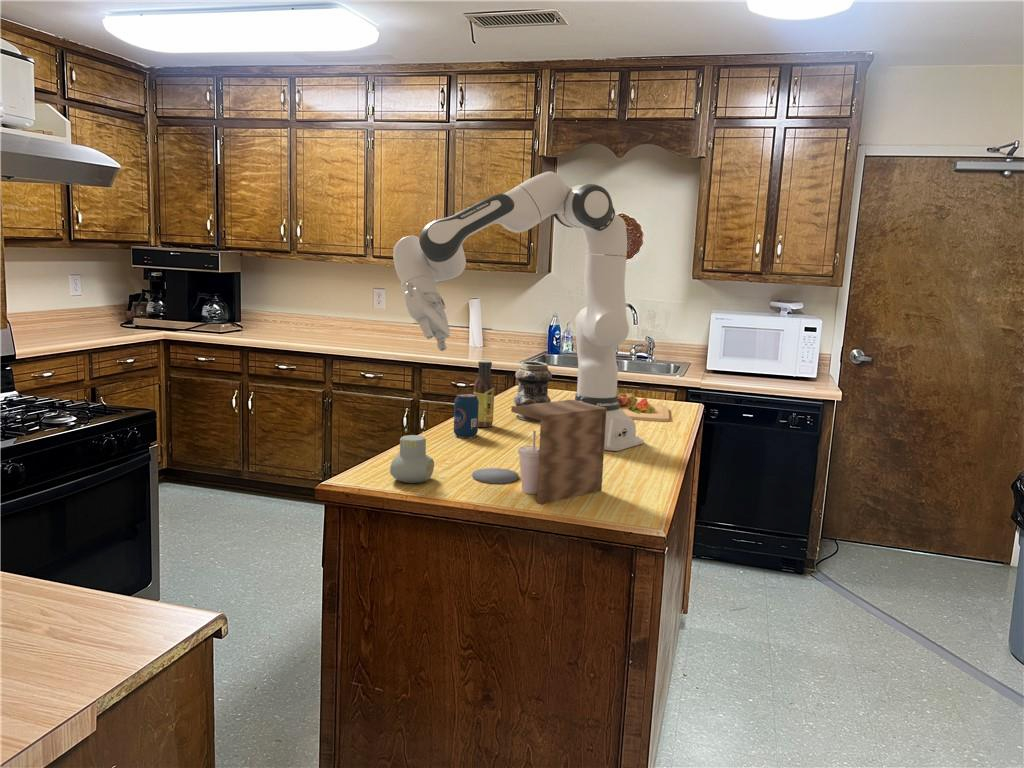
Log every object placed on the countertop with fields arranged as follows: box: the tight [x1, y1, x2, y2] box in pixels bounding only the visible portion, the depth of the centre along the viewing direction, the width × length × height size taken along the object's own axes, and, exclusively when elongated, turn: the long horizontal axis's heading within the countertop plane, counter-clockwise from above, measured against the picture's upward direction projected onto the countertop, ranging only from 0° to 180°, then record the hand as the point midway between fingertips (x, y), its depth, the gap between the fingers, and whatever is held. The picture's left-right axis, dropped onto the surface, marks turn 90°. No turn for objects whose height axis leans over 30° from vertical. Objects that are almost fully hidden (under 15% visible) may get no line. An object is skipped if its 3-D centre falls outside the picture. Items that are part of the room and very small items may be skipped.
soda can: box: [453, 392, 479, 438], centre depth 225 cm, size 7×7×12 cm
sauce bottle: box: [473, 360, 495, 428], centre depth 238 cm, size 7×6×20 cm
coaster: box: [471, 467, 520, 485], centre depth 186 cm, size 11×11×1 cm
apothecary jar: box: [513, 360, 553, 422], centre depth 253 cm, size 12×12×18 cm
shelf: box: [510, 399, 607, 505], centre depth 176 cm, size 18×11×19 cm, turn 128°
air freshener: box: [389, 434, 435, 484], centre depth 180 cm, size 11×8×10 cm
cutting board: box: [571, 392, 670, 423], centre depth 270 cm, size 35×23×8 cm
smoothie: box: [517, 430, 540, 495], centre depth 175 cm, size 6×6×14 cm
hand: (436, 343), depth 193 cm, fingers open, 8 cm apart
